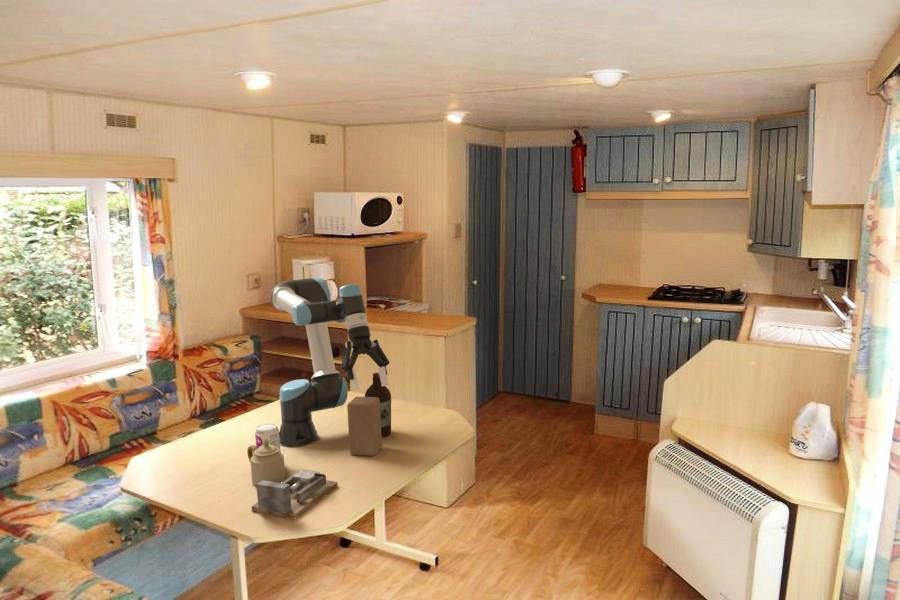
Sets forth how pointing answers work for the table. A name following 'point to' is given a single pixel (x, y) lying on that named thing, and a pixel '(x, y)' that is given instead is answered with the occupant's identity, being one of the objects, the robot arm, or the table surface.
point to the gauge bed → (290, 496)
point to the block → (364, 426)
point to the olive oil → (381, 403)
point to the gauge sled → (303, 479)
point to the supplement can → (267, 435)
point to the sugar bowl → (266, 463)
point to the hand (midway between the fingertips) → (370, 387)
